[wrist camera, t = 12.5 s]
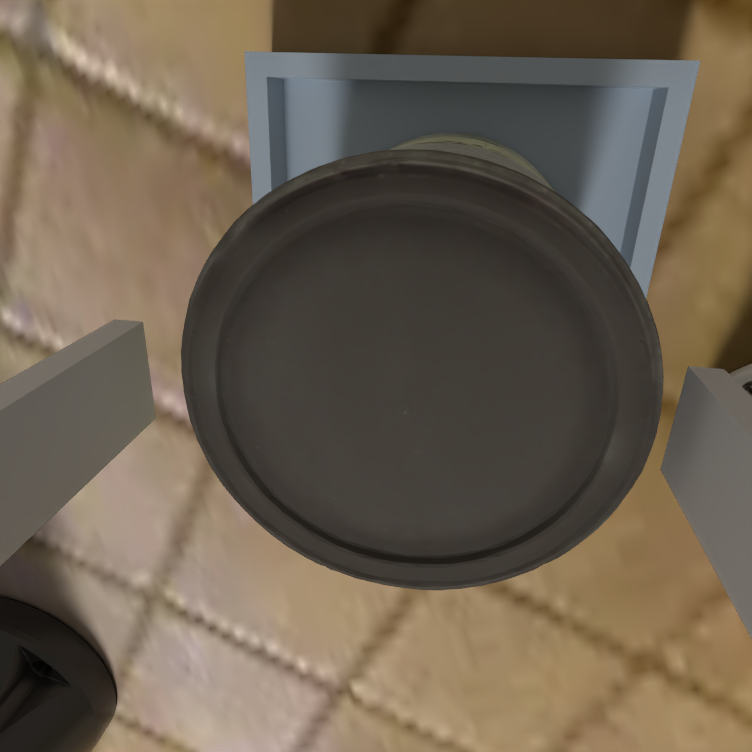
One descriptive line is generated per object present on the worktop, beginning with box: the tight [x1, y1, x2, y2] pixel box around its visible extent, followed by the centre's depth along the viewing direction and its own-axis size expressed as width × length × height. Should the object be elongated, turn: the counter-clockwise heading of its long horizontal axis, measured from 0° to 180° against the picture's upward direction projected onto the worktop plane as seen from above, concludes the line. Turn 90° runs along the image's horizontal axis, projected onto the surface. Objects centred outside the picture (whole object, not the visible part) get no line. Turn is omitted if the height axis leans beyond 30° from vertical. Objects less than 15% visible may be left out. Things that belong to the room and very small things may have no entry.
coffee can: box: [181, 133, 663, 590], centre depth 19 cm, size 10×10×14 cm
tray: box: [245, 52, 700, 298], centre depth 25 cm, size 16×16×3 cm
